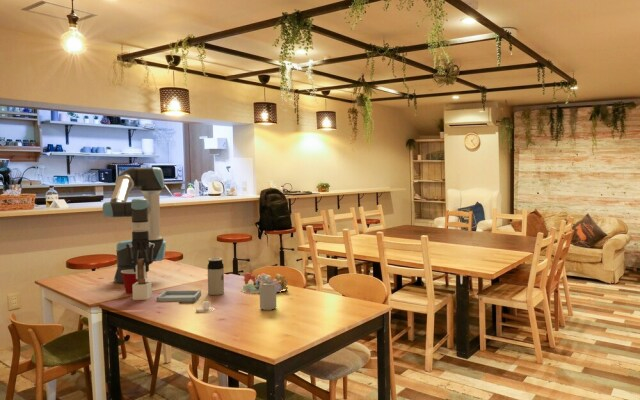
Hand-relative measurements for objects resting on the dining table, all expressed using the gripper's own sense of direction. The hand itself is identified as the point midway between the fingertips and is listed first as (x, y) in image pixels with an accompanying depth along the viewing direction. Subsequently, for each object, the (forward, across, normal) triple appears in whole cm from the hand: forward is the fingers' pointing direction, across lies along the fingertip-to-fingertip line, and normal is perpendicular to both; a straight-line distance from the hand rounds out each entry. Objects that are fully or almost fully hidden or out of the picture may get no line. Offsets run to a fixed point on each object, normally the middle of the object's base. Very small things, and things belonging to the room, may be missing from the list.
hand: (141, 278), depth 242 cm
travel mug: (+11, +34, +10) cm, 37 cm away
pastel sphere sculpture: (+11, +58, +18) cm, 62 cm away
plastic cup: (+11, -9, +12) cm, 19 cm away
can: (+10, +63, -19) cm, 67 cm away
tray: (+10, +18, 0) cm, 21 cm away
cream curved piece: (+11, +32, -19) cm, 39 cm away
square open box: (+11, 0, 0) cm, 11 cm away
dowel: (+9, 0, 0) cm, 9 cm away
